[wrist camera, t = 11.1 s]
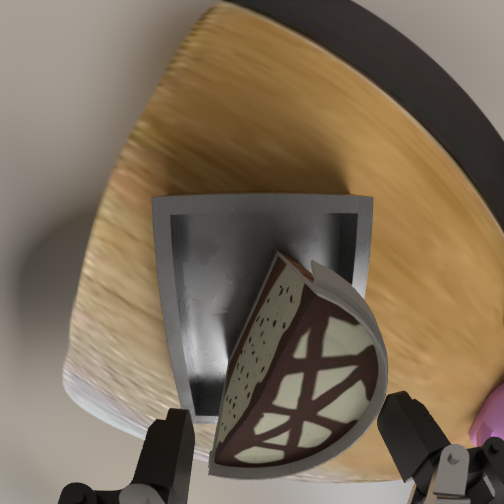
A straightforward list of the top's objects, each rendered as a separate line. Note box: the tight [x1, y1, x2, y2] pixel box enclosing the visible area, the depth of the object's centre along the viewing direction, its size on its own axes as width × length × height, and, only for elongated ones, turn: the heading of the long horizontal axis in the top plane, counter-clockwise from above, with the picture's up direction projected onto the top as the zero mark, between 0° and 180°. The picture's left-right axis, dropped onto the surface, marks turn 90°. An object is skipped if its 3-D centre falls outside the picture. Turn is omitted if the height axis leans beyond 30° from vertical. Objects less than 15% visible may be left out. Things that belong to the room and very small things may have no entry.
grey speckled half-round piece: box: [208, 250, 388, 480], centre depth 14 cm, size 12×6×10 cm, turn 158°
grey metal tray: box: [152, 192, 373, 424], centre depth 18 cm, size 12×17×4 cm
